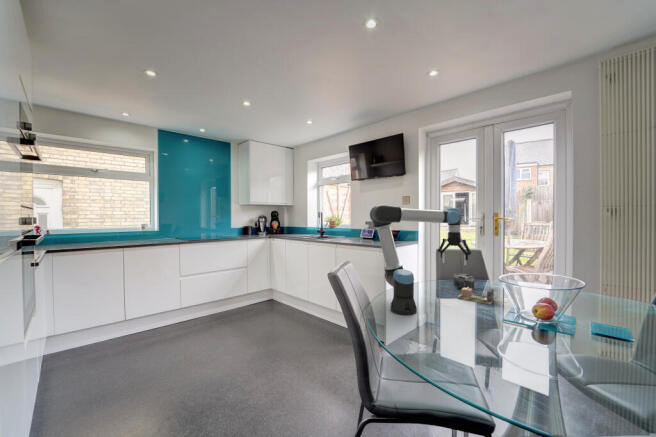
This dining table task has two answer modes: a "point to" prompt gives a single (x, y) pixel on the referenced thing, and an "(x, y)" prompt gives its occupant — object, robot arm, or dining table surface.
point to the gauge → (466, 292)
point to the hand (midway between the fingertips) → (454, 264)
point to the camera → (463, 281)
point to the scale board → (480, 297)
